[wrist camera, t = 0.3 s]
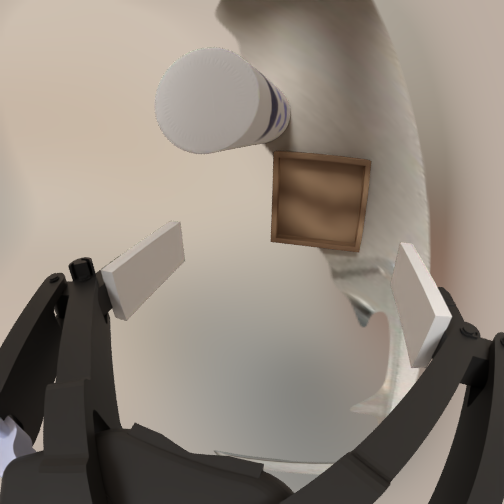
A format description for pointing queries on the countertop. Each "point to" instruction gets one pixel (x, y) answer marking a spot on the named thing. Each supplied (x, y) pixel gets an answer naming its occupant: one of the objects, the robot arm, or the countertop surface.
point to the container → (218, 103)
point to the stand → (319, 200)
